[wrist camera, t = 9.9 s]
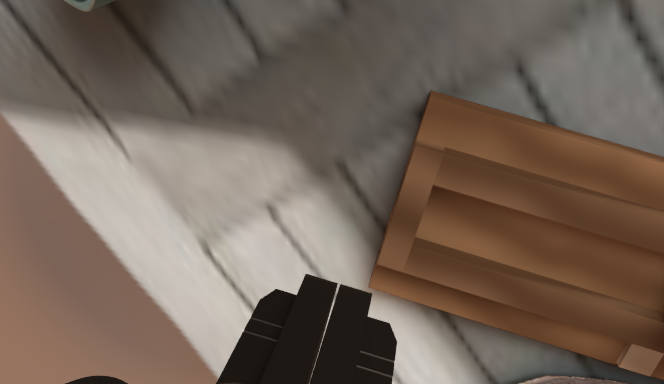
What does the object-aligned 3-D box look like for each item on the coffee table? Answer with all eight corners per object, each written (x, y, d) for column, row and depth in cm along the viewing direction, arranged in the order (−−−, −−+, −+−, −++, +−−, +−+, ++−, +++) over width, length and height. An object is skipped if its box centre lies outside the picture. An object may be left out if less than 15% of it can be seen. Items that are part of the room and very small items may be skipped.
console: (430, 90, 41) (429, 102, 38) (830, 204, 39) (864, 227, 36) (371, 274, 47) (366, 297, 44) (710, 380, 45) (730, 412, 42)
